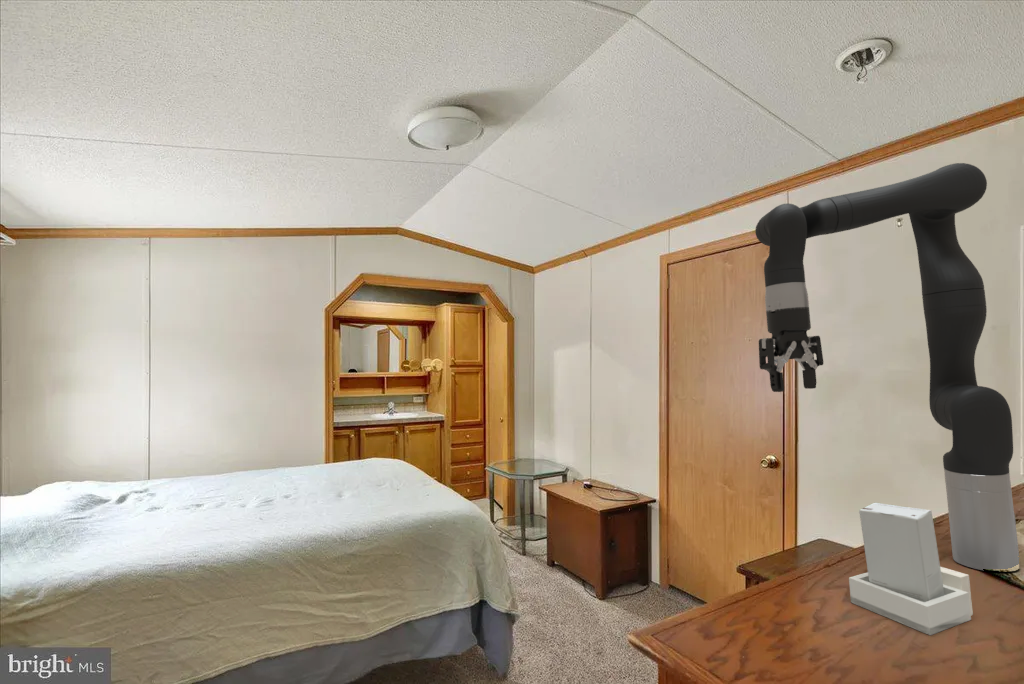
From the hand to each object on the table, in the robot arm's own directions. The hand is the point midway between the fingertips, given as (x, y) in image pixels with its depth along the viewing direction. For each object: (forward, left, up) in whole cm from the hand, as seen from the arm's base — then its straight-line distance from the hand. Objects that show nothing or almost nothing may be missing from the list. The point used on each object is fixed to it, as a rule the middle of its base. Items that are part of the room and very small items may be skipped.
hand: (794, 390), depth 101 cm
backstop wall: (-4, +19, -34) cm, 39 cm away
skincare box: (+2, +19, -33) cm, 38 cm away
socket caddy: (+2, +19, -34) cm, 39 cm away
